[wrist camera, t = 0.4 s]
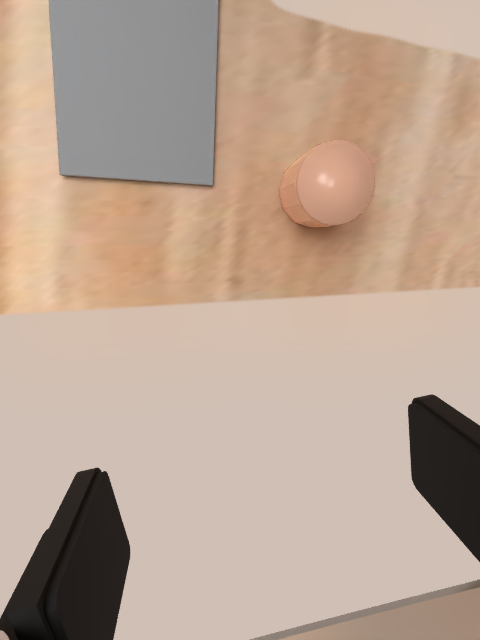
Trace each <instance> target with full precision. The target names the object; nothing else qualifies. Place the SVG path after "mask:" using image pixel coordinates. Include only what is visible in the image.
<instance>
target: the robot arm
mask: <svg viewBox="0 0 480 640" xmlns="http://www.w3.org/2000/svg"><path fill="white" fill-rule="evenodd" d="M408 417H409V436H410V455H411V472H412V480H413V483H414V485H415V487H416V489H417V490H418V491H419V492H420V494H421V495H422V496H423V497H424V498H425V499H426V501H427V502H428V503H429V504H430V505H431V506H432V507H433V509H434V510H435V511H436V512H437V513H438V514H439V516H440V517H441V518H442V519H443V520H444V521H445V522H446V524H447V525H448V526H449V527H450V528H451V529H452V531H453V532H454V533H455V534H456V535H457V536H458V537H459V539H460V540H461V541H462V542H463V543H464V545H465V546H466V547H467V548H468V549H469V550H470V551H471V552H472V554H473V555H474V556H475V557H476V558H477V559H478V561H479V562H480V426H479V425H478V424H477V423H475V422H474V421H472V420H471V419H469V418H467V417H466V416H464V415H463V414H462V413H460V412H459V411H457V410H456V409H454V408H453V407H451V406H450V405H448V404H447V403H445V402H444V401H442V400H441V399H440V398H438V397H437V396H435V395H427V396H422V397H418V398H414V399H413V401H412V404H410V405H409V406H408ZM129 560H130V545H129V541H128V538H127V535H126V531H125V528H124V525H123V522H122V518H121V515H120V512H119V509H118V505H117V502H116V499H115V496H114V492H113V489H112V486H111V482H110V479H109V476H108V474H107V472H106V471H104V472H101V470H100V469H99V468H94V469H89V470H85V471H80V472H78V473H77V474H76V475H75V477H74V479H73V481H72V483H71V485H70V487H69V489H68V491H67V493H66V495H65V497H64V499H63V501H62V504H61V505H60V507H59V510H58V511H57V513H56V515H55V517H54V519H53V521H52V523H51V525H50V527H49V529H47V530H46V531H45V533H44V534H43V536H42V538H41V540H40V541H39V543H38V545H37V547H36V549H35V551H34V553H33V555H32V557H31V559H30V561H29V563H28V565H27V567H26V569H25V571H24V573H23V575H22V577H21V579H20V581H19V583H18V585H17V587H16V589H15V590H14V592H13V594H12V597H11V598H10V600H9V602H8V604H7V606H6V608H5V610H4V612H3V614H2V616H1V618H0V640H113V638H114V633H115V628H116V623H117V618H118V614H119V609H120V604H121V598H122V594H123V589H124V584H125V579H126V574H127V570H128V565H129ZM251 640H480V580H477V581H473V582H468V583H465V584H461V585H457V586H453V587H449V588H445V589H441V590H437V591H434V592H430V593H426V594H422V595H418V596H414V597H410V598H406V599H402V600H398V601H394V602H390V603H387V604H383V605H379V606H375V607H371V608H368V609H364V610H360V611H356V612H352V613H348V614H345V615H341V616H337V617H334V618H329V619H326V620H322V621H318V622H314V623H311V624H307V625H303V626H299V627H296V628H292V629H288V630H284V631H280V632H276V633H273V634H269V635H265V636H261V637H258V638H254V639H251Z"/></svg>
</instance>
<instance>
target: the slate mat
mask: <svg viewBox="0 0 480 640" xmlns="http://www.w3.org/2000/svg"><path fill="white" fill-rule="evenodd" d="M218 1H219V0H49V13H50V29H51V45H52V61H53V76H54V92H55V108H56V124H57V139H58V155H59V171H60V175H63V176H75V177H90V178H104V179H119V180H133V181H147V182H162V183H176V184H191V185H205V186H213V161H214V129H215V97H216V65H217V33H218Z"/></svg>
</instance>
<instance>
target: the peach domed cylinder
mask: <svg viewBox="0 0 480 640" xmlns="http://www.w3.org/2000/svg"><path fill="white" fill-rule="evenodd" d="M374 188H375V172H374V168H373V164H372V162H371V160H370V158H369V156H368V155H367V154H366V152H365V151H364V150H363V149H362V148H361V147H359V146H358V145H356V144H355V143H352V142H350V141H347V140H330V141H327V142H324V143H322V144H318V145H316V146H315V147H314V148H312V149H311V150H309V151H308V152H307V153H305V154H304V155H302V156H301V157H300V158H298V159H297V160H296V161H295V162H294V163H293V164H292V165H291V166H290V167H289V168H288V169H287V170H286V171H285V172H284V176H283V179H282V182H281V186H280V189H279V193H280V198H281V202H282V207H283V210H284V211H285V212H286V213H287V214H288V215H289V217H290V218H291V219H292V220H293V221H294V222H295V223H298V224H302V225H305V226H308V227H329V226H335V225H340V224H344V223H347V222H350V221H352V220H354V219H355V218H357V217H358V216H359V215H360V214H361V213H362V212H363V211H364V210H365V209H366V207H367V206H368V204H369V203H370V201H371V198H372V196H373V192H374Z"/></svg>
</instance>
